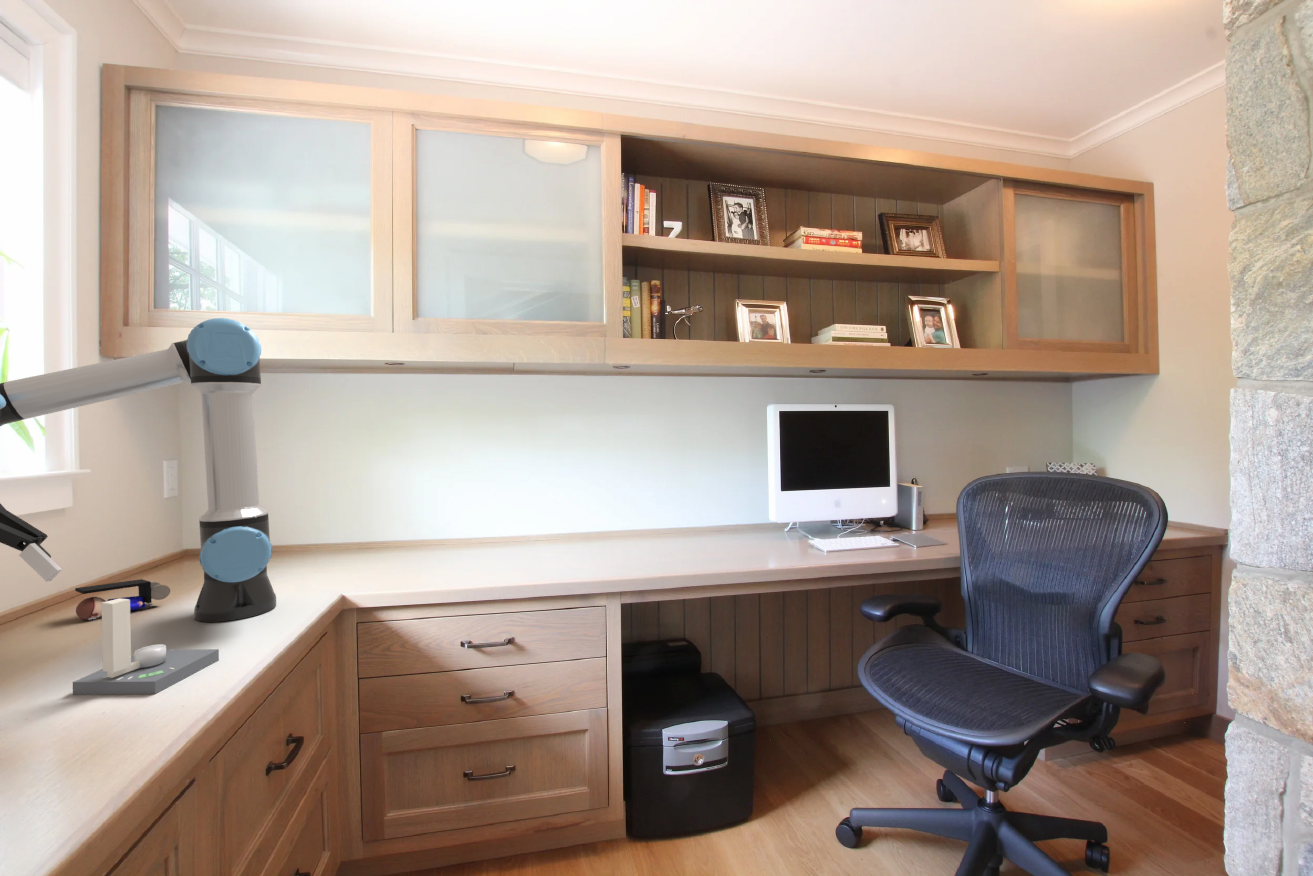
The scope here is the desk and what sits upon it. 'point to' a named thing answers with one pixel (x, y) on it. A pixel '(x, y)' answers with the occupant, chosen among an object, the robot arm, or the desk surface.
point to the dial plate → (148, 674)
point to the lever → (124, 641)
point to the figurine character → (147, 590)
